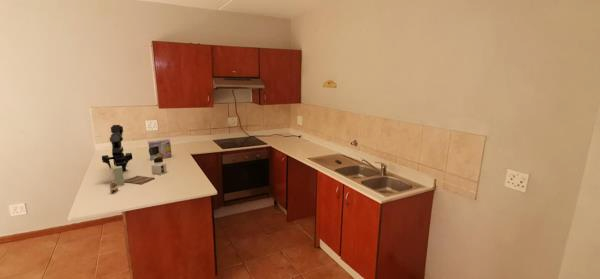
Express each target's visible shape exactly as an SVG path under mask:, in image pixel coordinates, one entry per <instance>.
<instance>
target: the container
mask: <svg viewBox="0 0 600 279" xmlns="http://www.w3.org/2000/svg"><path fill="white" fill-rule="evenodd" d="M150 165H151V173H152V175H158V176H159V175H163V174H166V173H168V170H167V163H166V162H164V158H162V157H155V158H154V160H153V163H152V164H150Z"/></svg>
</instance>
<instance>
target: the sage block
mask: <svg viewBox="0 0 600 279" xmlns="http://www.w3.org/2000/svg"><path fill="white" fill-rule="evenodd" d="M112 168H113V176H114V182H115V183H116V184H117V186H118V185H120V186H119V187H121V186H125V182H124V181H125V180H124V172H123V171H122V166H117V167H116V166H113V167H112Z"/></svg>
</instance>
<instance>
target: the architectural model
mask: <svg viewBox="0 0 600 279" xmlns="http://www.w3.org/2000/svg"><path fill="white" fill-rule="evenodd" d="M108 184H109V190H110V192H109V193H110V194H112V193H113V192H116V191H118V190H119V187H121V186H120V185H118V186H117V184H116V183H115V179H114V180H112V181H110V182H109V183H108Z"/></svg>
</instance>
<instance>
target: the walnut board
mask: <svg viewBox="0 0 600 279" xmlns="http://www.w3.org/2000/svg"><path fill="white" fill-rule="evenodd" d="M155 179H156V178H155V177H152V176H150V177H149V176H143V175H136V176H133V177H131V178H128V179H126V180H124V184H125V183H126V184H132V185H133V184H134V185H144V184H147V183H149V182H150V181H153V180H155Z"/></svg>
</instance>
